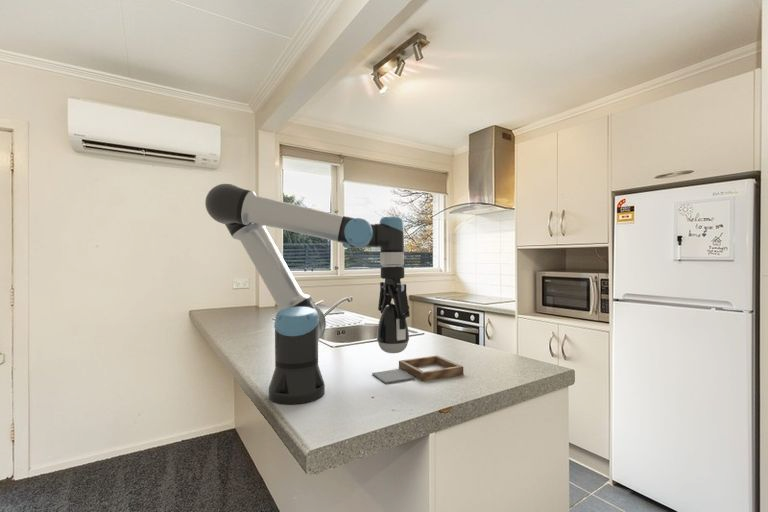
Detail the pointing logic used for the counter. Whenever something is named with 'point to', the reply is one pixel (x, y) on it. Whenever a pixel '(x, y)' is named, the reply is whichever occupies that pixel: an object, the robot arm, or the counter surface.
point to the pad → (393, 376)
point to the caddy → (447, 371)
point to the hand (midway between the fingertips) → (393, 336)
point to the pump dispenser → (390, 331)
